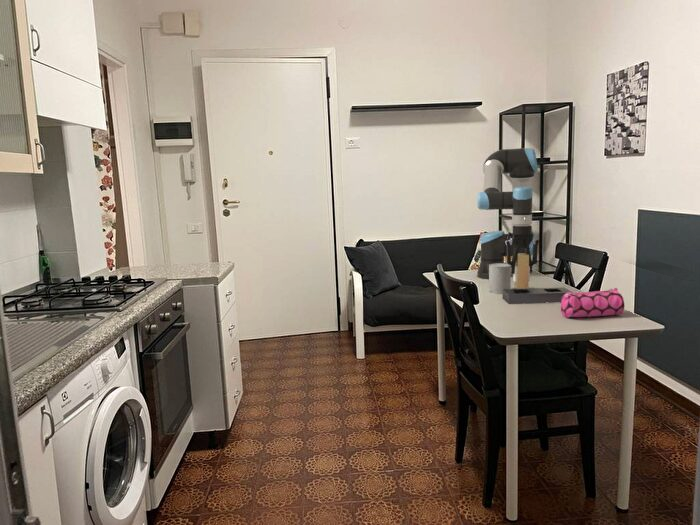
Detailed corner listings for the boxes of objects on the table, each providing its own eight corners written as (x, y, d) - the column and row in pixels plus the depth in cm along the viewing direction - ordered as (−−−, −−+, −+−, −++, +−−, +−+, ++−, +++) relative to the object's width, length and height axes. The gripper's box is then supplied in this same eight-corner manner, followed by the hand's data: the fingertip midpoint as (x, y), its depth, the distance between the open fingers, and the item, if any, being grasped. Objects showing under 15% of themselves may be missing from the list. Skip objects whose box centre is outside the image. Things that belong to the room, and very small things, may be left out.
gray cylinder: (488, 294, 238) (489, 266, 236) (488, 289, 247) (488, 263, 245) (511, 294, 236) (511, 266, 234) (510, 289, 245) (510, 263, 243)
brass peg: (514, 286, 225) (514, 253, 223) (525, 286, 225) (525, 253, 223) (517, 288, 221) (517, 255, 218) (528, 288, 220) (529, 254, 218)
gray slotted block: (502, 298, 229) (502, 289, 228) (563, 296, 228) (564, 287, 227) (508, 304, 219) (508, 294, 218) (572, 302, 218) (573, 292, 218)
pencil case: (608, 310, 204) (610, 285, 202) (625, 317, 195) (627, 290, 193) (557, 314, 201) (557, 288, 199) (571, 321, 191) (572, 294, 190)
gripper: (502, 226, 215) (502, 283, 219) (546, 225, 215) (545, 282, 218) (498, 225, 223) (497, 279, 226) (540, 223, 222) (539, 278, 226)
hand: (521, 280), depth 222 cm, fingers closed on brass peg, 4 cm apart
